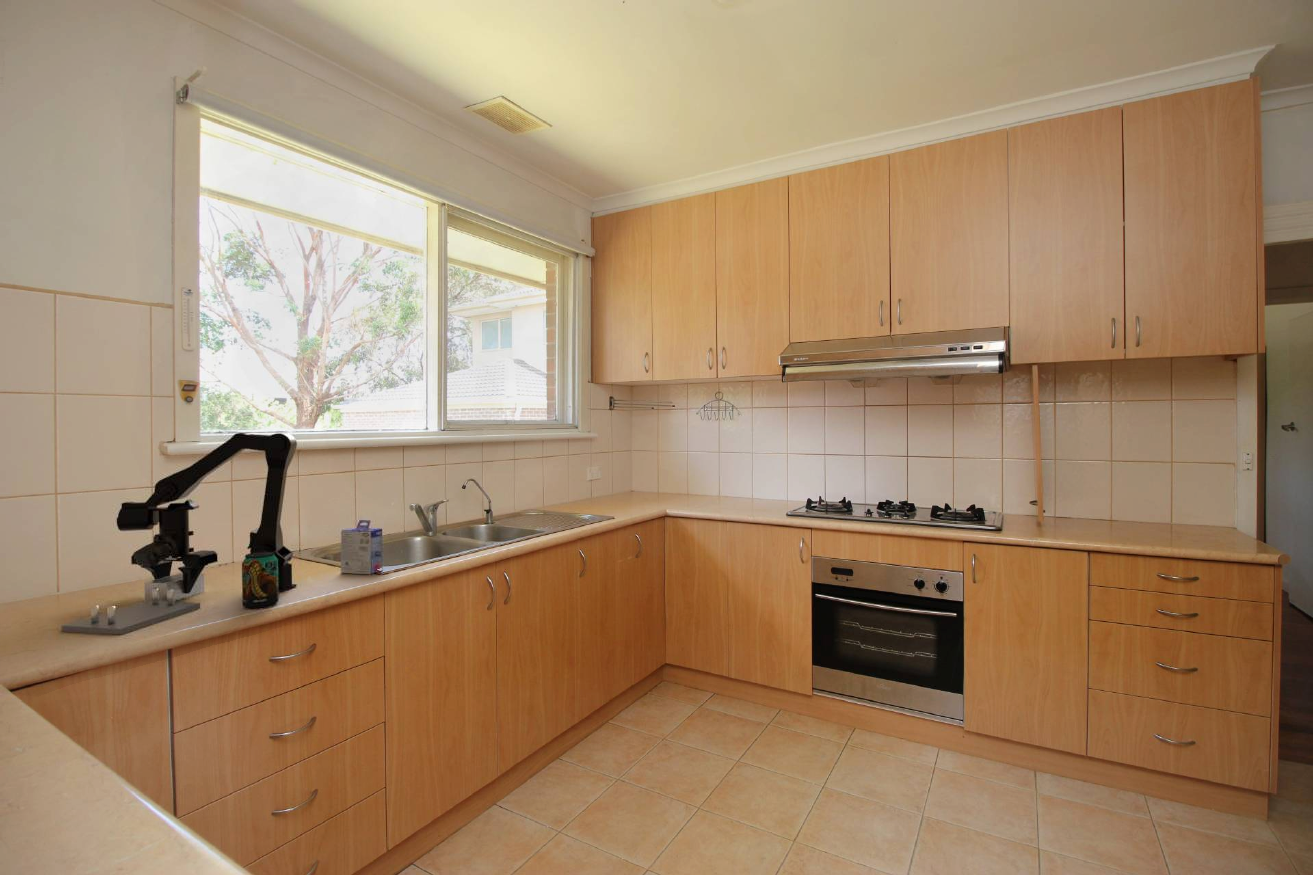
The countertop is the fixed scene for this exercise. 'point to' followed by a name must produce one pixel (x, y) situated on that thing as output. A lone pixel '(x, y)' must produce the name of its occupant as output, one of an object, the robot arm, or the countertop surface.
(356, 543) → the ink cartridge box
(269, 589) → the beverage can
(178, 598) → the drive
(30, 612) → the countertop surface
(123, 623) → the pin tray
